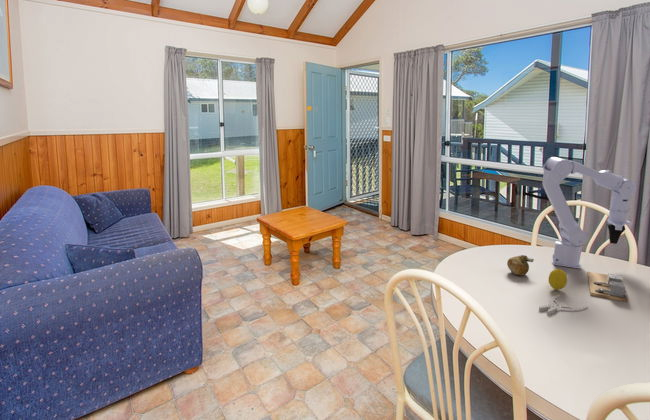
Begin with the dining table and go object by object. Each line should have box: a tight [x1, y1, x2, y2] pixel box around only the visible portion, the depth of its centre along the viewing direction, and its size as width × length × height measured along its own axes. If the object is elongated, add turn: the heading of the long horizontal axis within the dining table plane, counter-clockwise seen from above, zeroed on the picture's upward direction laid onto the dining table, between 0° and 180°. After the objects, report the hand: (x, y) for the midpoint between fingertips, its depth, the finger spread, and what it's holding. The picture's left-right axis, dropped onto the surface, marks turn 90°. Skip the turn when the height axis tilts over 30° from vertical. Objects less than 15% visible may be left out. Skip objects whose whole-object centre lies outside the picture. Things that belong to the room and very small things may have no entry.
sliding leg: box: [597, 273, 624, 287], centre depth 138 cm, size 7×4×4 cm, turn 60°
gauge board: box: [586, 271, 628, 303], centre depth 140 cm, size 10×20×2 cm, turn 150°
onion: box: [506, 254, 535, 276], centre depth 151 cm, size 8×8×8 cm
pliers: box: [538, 294, 589, 316], centre depth 126 cm, size 10×2×15 cm
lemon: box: [548, 268, 568, 291], centre depth 137 cm, size 6×6×8 cm
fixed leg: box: [598, 281, 626, 297], centre depth 132 cm, size 7×4×4 cm, turn 60°
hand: (613, 243), depth 156 cm, fingers closed
